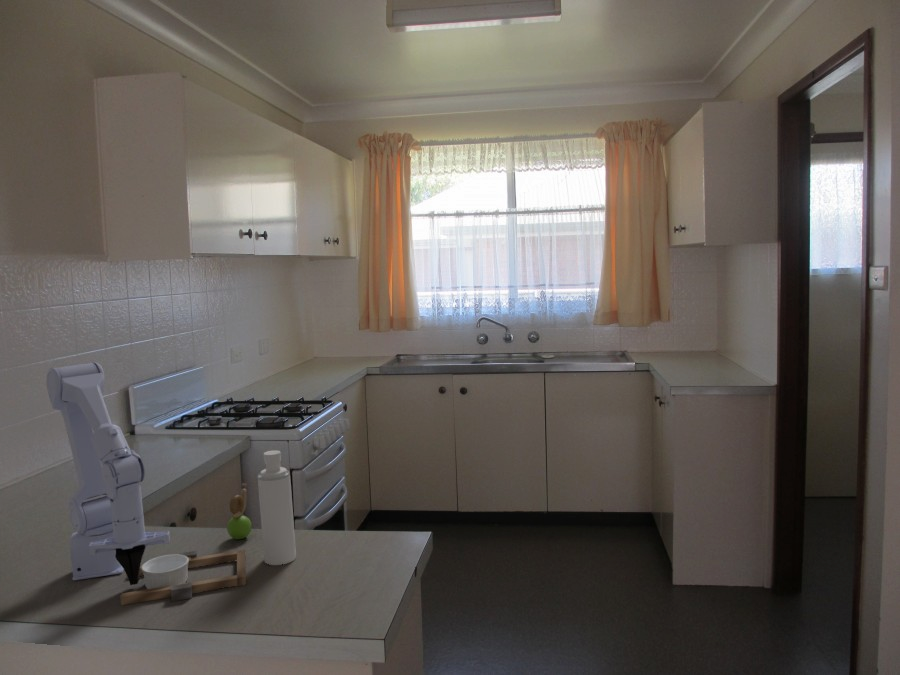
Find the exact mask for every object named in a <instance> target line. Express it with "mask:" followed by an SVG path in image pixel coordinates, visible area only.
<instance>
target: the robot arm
mask: <svg viewBox="0 0 900 675" xmlns="http://www.w3.org/2000/svg"><path fill="white" fill-rule="evenodd" d="M49 368H50V367H49ZM105 381H106V376H105V372H104V369H103V367H102V365H101V364H99V363H98V362H97V361H93V362H89V363H82V364H75V365H74V364H73V365H67V366H66V365H65V366H61V367H60V366H59V367H51V368H50V369H48V371H47V373H46V381H45V383H46V390H47V393H48V398H49V402H50V404H51V406H52V409H54V410H57V411H60V413H61V415H62V419H63V422H64V425H65V430H66V434H67V438H68V442H69V446H70V451H71V454H72V458H73V459H72V460H73V462H74V467H75V470H76V475H77V480H78V483H79V487H78V489H77V490H76V491H75V492H74V493H73V494H72V495H71V496H70V498H69V499H68V508H69V520H70V521H69V522H70V524H71V527H72V529H73V530H74V531H75V532H72V534H71V536H70V539H69V540H70V542H69V551H70V560H71V569H72V581H79V580H86V579H92V578H98V577H105V576H112V575H119V574H122V573H123V572H125V574H126V577H127V579H128V582H129V585H130V586H134V585H138V584H139V581H140V576H139V569H140V566H141V562H142V560H143V556H144V553H145V551H146V548H147V547H148V546H153V545H154V546H155V545H159V544H161V545H162V544H163V545H169V544H170V543H171V534H170V530H168V531H148V532H147V531H146V528H145V516H144V508H143V507H144V506H143V496H142V488H141V482H142V483H143V482H144V480H145V476H146V471H145V470H146V469H145V464H144V462H143V460H142V457H141V456H140V455H139V454H138V453H136V452H135V450H134V449H131V448H130V445H129V443H128V442H127V439H126V437H125V435H124V433H123V431H122V428H121V427H120V426H119V425H117V424H113V423H112V420H111V417H110V414H109V411H108V408H107V404H106V402H105V400H104V399H105V398H104V396H103V393H104V389H105V383H106V382H105ZM101 496H102V497H101ZM96 497H97V498H96ZM93 498H95V499H93ZM89 499H90V500H89ZM85 500H87V501H85Z"/></svg>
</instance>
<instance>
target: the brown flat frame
mask: <svg viewBox="0 0 900 675" xmlns="http://www.w3.org/2000/svg"><path fill="white" fill-rule="evenodd" d="M197 553H198V552H197V550H193V551H187V552H180V553H178V554H179V555H184V556H187V557H188V559H189V562H188V568H189V569H194V567H195V568H199V566H202V567H205V566H204V565H208V566H212V564H214V565H218V564H217V563H221V564H223V563H222V562H227V563H230V562H229V561H234V562H236V574H235V575H229V576H222V577H216V578H211V579H209V578H208V579H204V580H197V581H191V582H187V581H186V582H183V583H179V584H178V585H171V586H165V587H159V588H153V589H147V588H146V589H142V590H135V591H134V590H133V591H129V592H123V593H121V594H120V597H119V599H120V605H121V606H125V605H130V604H137V603H143V602H149V601H155V600H161V599H165V598H166V599H167V598H168V599H169V598H171V602H176V601H181V600H188V599H192V598H193V594H196V593H203V591H204V592H210V591H215V589H217V590H220V589H219V588H223V589H225V588H224V587H229V588H232V587H231V586H235V587H237V586H236V585H241V586H245V585H244V584H247V582H246V581H247V580H246V579H247V578H246V577H247V575H246V573H247V570H246V568H247V567H246V565H245V562H246V549H243V550H242V549H241V550H236V551H235V550H234V551H227V552H222V553H220V552H219V553H214V554H209V555H208V554H207V555H201V556H198V554H197ZM235 560H237V561H235ZM142 565H143V564H142ZM142 565H141V564H140V569H139V577H144V576H143V572H142V569H141V567H142ZM209 590H210V591H209Z"/></svg>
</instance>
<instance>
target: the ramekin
mask: <svg viewBox="0 0 900 675" xmlns="http://www.w3.org/2000/svg"><path fill="white" fill-rule="evenodd" d="M188 562H189V559H188V557H187V556H184V555H179V553H177V554H176V553H172V554H163V555H160V556H156V557H154V558H151V559H149V560H147V561H145V562H144V563H143V564H142V567H141V569H142V572H143V575H144V576H143V581H144V585H145V587H146V589H153V588H159V587H165V586H171V585H178V584H179V583H183V582H186V583H187V580H188V576H189V572H188Z"/></svg>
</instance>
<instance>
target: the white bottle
mask: <svg viewBox="0 0 900 675" xmlns="http://www.w3.org/2000/svg"><path fill="white" fill-rule="evenodd" d="M263 462H264V464H265V468H264V469H262V470H261V471H260V472H259V473H258V474H257V485H258V486H257V488H258V498H259V501H258V502H259V511H260V527H261V537H262V539H261V540H262V549H263V561H264V563H265V564H266V563H267V564H266V565H268V564H269V566H282V564H283V565H287V564H289V563H291V562H294V560H295V559H296V558H297V550H296V548H297V547H296V536H295V523H294V512H293V509H294V508H293V497H292V496H293V494H292V484H291V482H292V481H291V472H290V470H288V469H287V468H286V467H283V466H281V462H282V452H281V451H280V450H267V451H265V452H263Z"/></svg>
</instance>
